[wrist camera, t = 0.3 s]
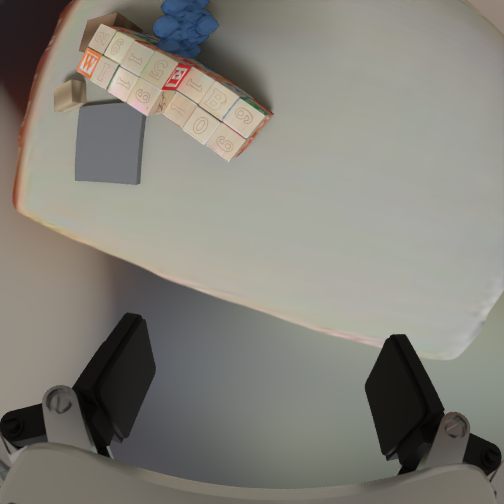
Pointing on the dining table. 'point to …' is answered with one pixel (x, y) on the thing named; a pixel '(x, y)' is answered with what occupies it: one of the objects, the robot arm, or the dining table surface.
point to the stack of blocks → (174, 89)
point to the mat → (109, 144)
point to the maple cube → (70, 96)
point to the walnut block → (109, 19)
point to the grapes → (184, 27)
